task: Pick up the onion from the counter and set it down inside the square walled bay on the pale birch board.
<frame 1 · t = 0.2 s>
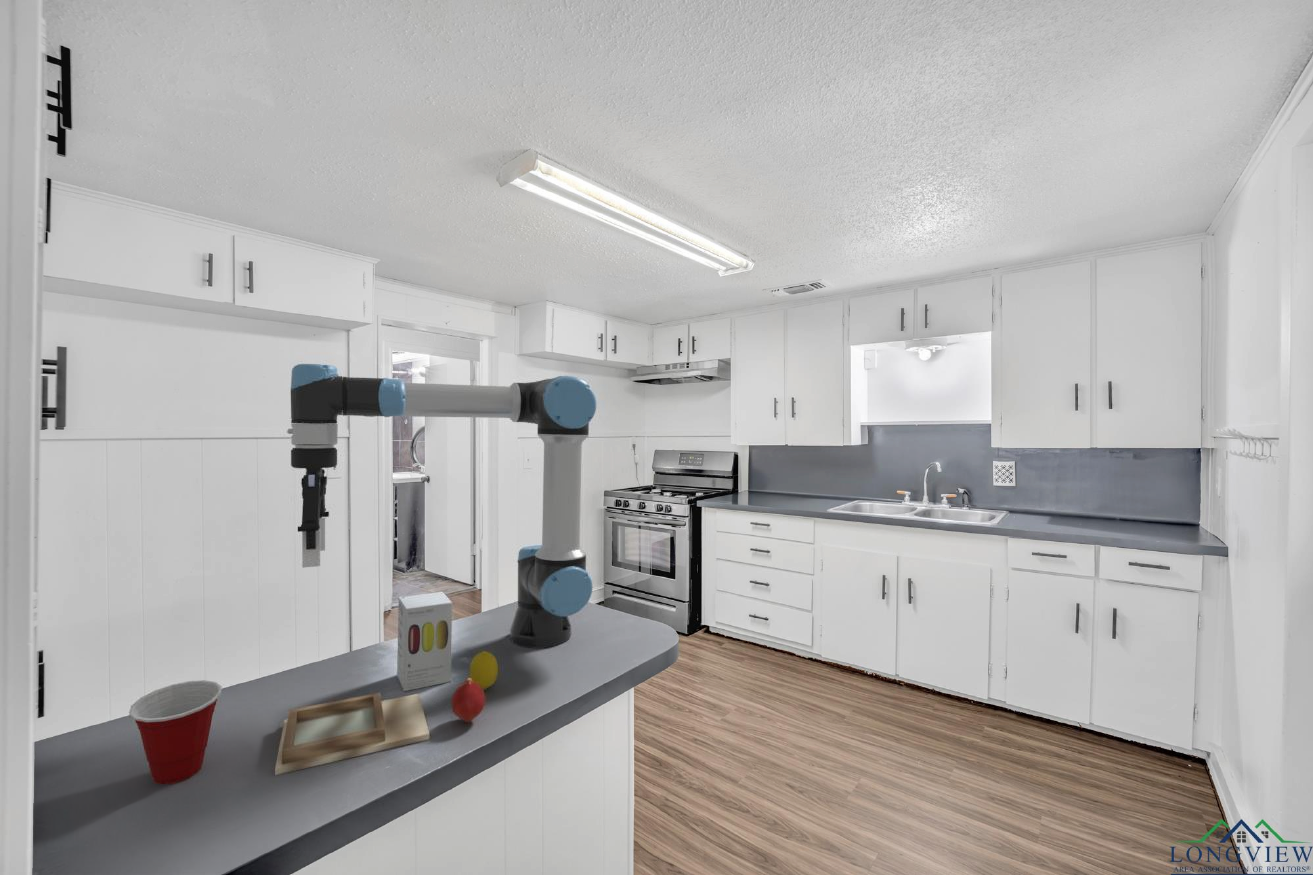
hand: (314, 558, 109), 28 cm above the countertop, tool pointing down, fingers open, 13 cm apart
plastic cup: (177, 775, 87), on the countertop
onion: (468, 722, 104), on the countertop
supplement box: (423, 679, 121), on the countertop
lemon: (483, 691, 116), on the countertop
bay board: (355, 732, 100), on the countertop
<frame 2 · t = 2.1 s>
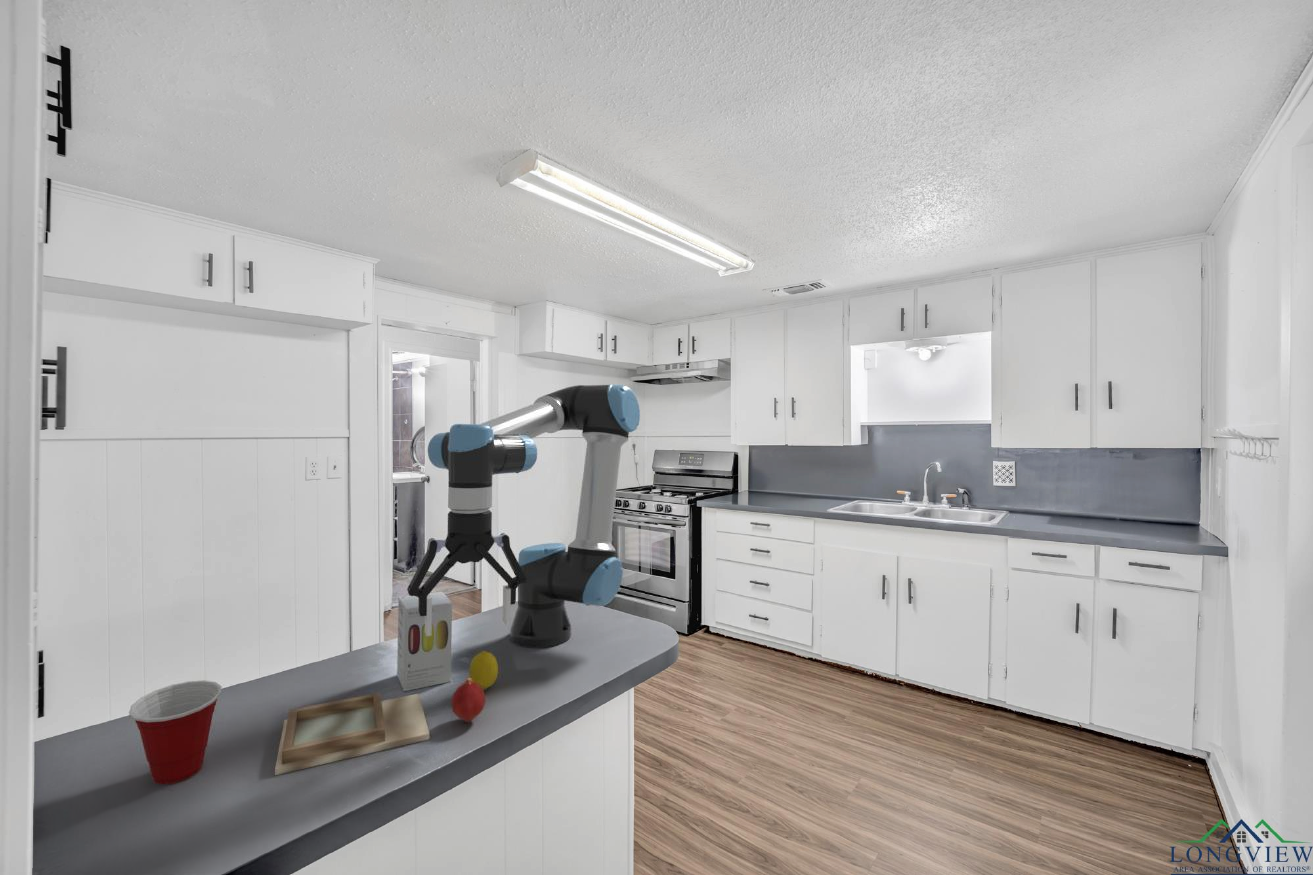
hand: (468, 627, 103), 17 cm above the countertop, tool pointing down, fingers open, 13 cm apart
nothing on the countertop moved.
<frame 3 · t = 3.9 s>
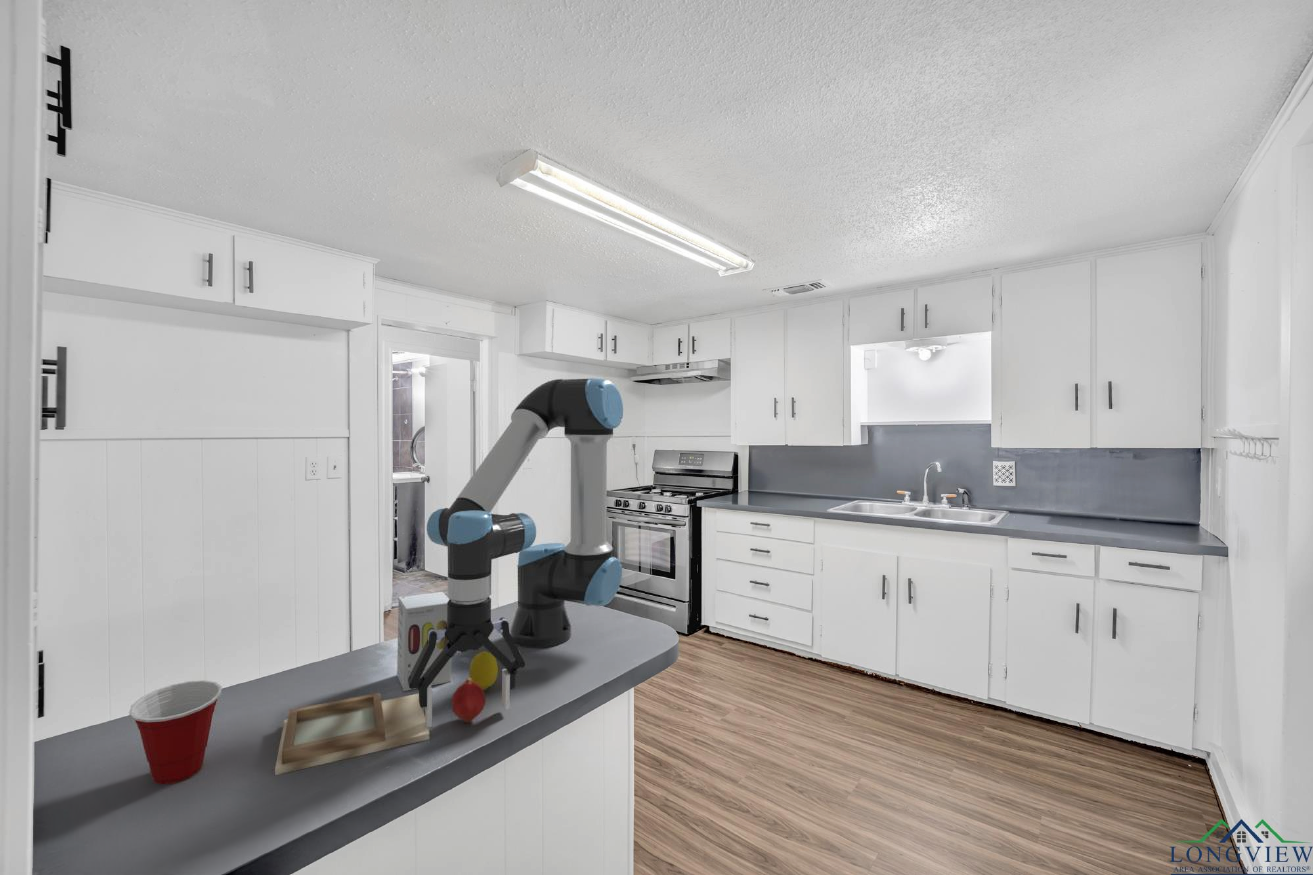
hand: (468, 714, 104), 1 cm above the countertop, tool pointing down, fingers open, 13 cm apart
nothing on the countertop moved.
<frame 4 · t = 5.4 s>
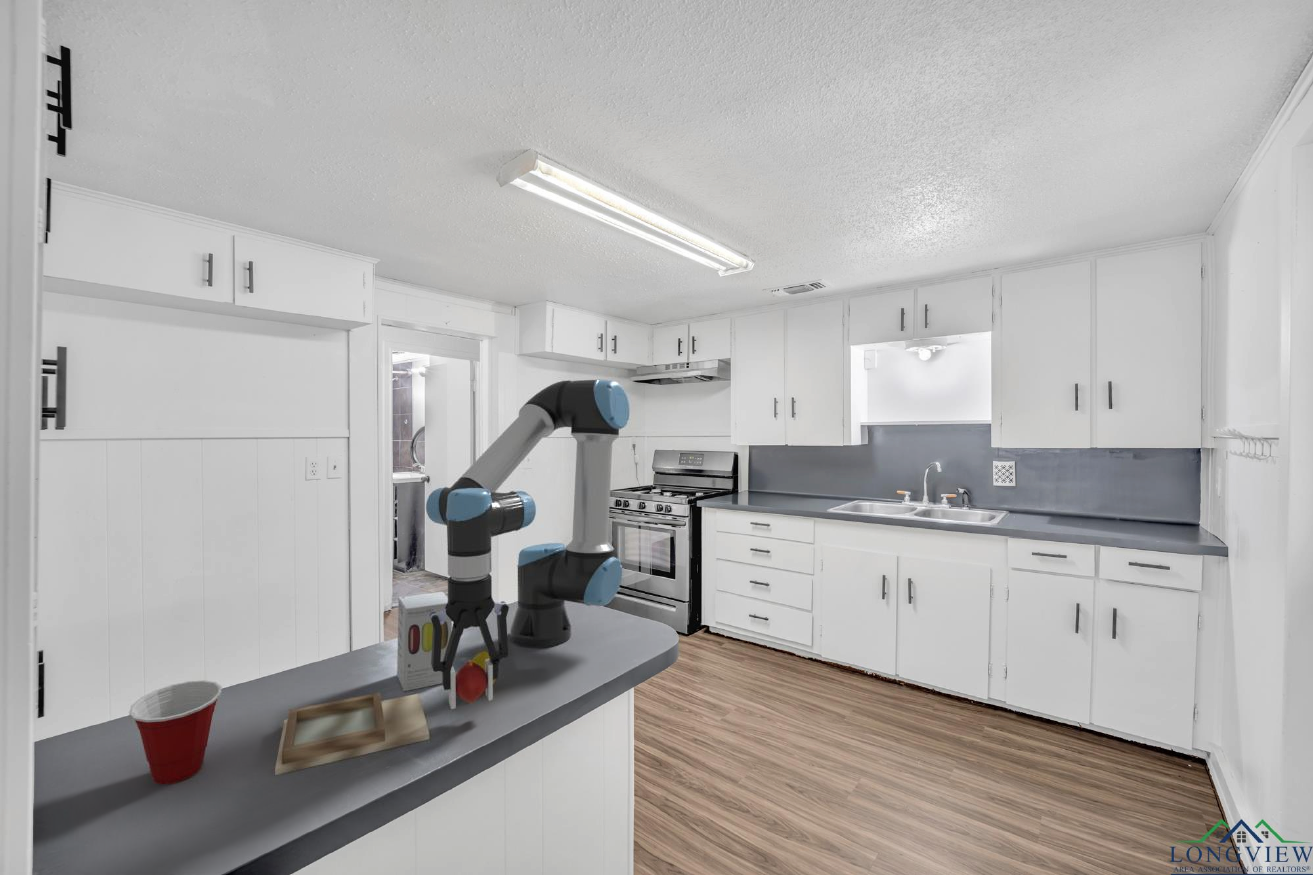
hand: (471, 700, 104), 4 cm above the countertop, tool pointing down, fingers closed on onion, 6 cm apart
onion: (471, 703, 105), point 3 cm above the countertop, touching gripper
everything else where it was.
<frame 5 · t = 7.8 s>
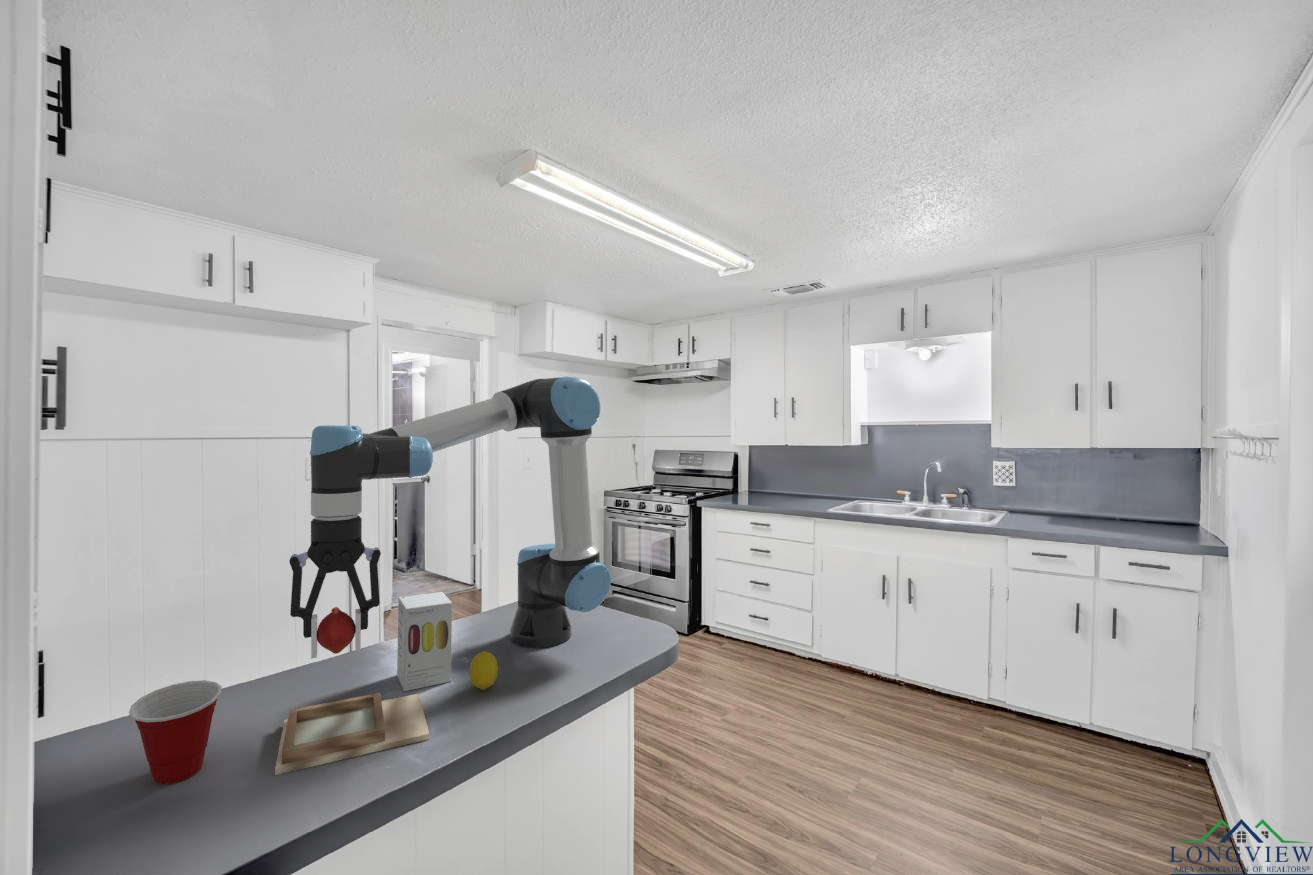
hand: (336, 651, 98), 15 cm above the countertop, tool pointing down, fingers closed on onion, 6 cm apart
onion: (337, 654, 98), point 14 cm above the countertop, touching gripper
everything else where it was.
when the fingers open (3 cm above the countertop, at t = 10.6 s): onion drops 1 cm, resting on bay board.
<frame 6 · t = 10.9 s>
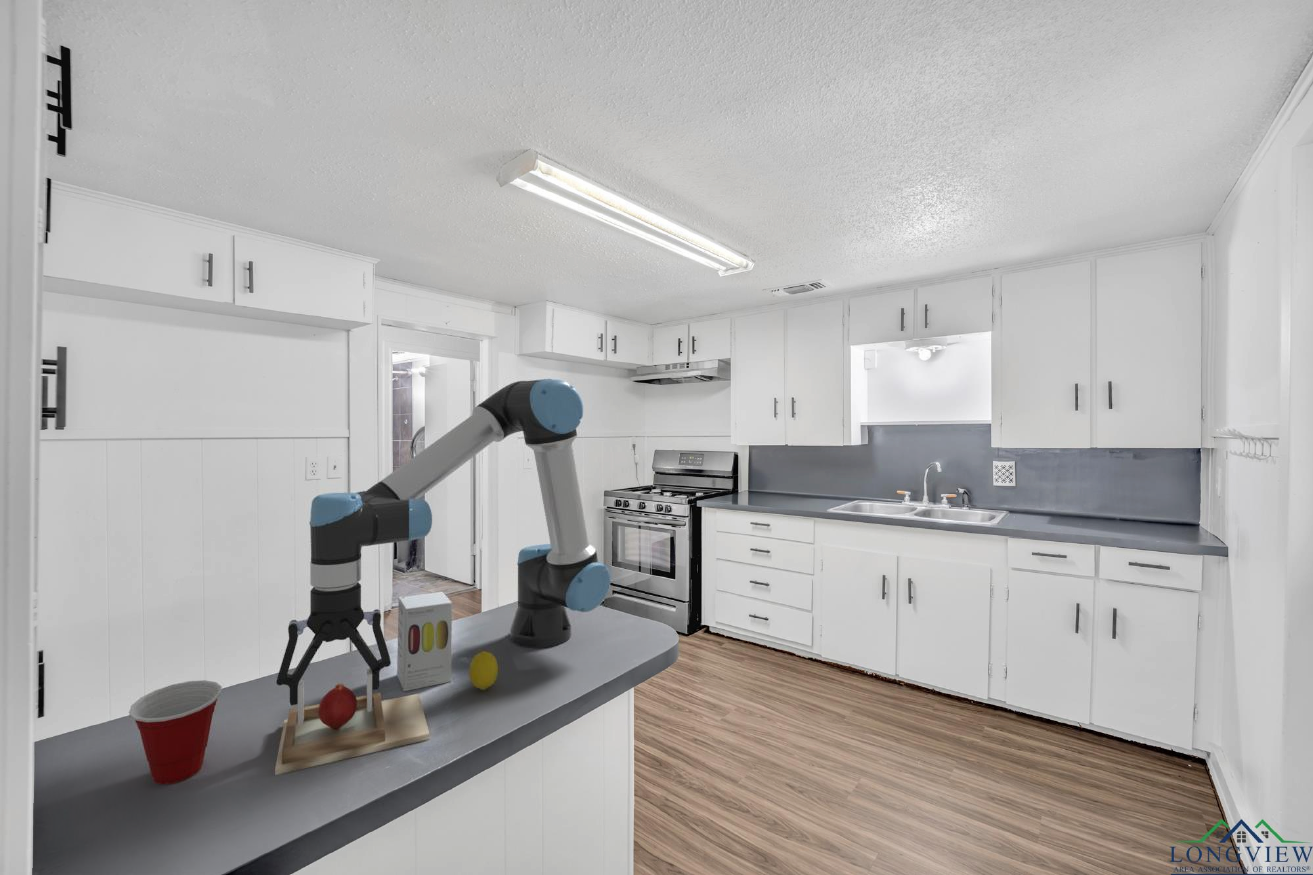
hand: (335, 714, 98), 4 cm above the countertop, tool pointing down, fingers open, 9 cm apart
onion: (336, 729, 98), point 1 cm above the countertop, touching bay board
everything else where it was.
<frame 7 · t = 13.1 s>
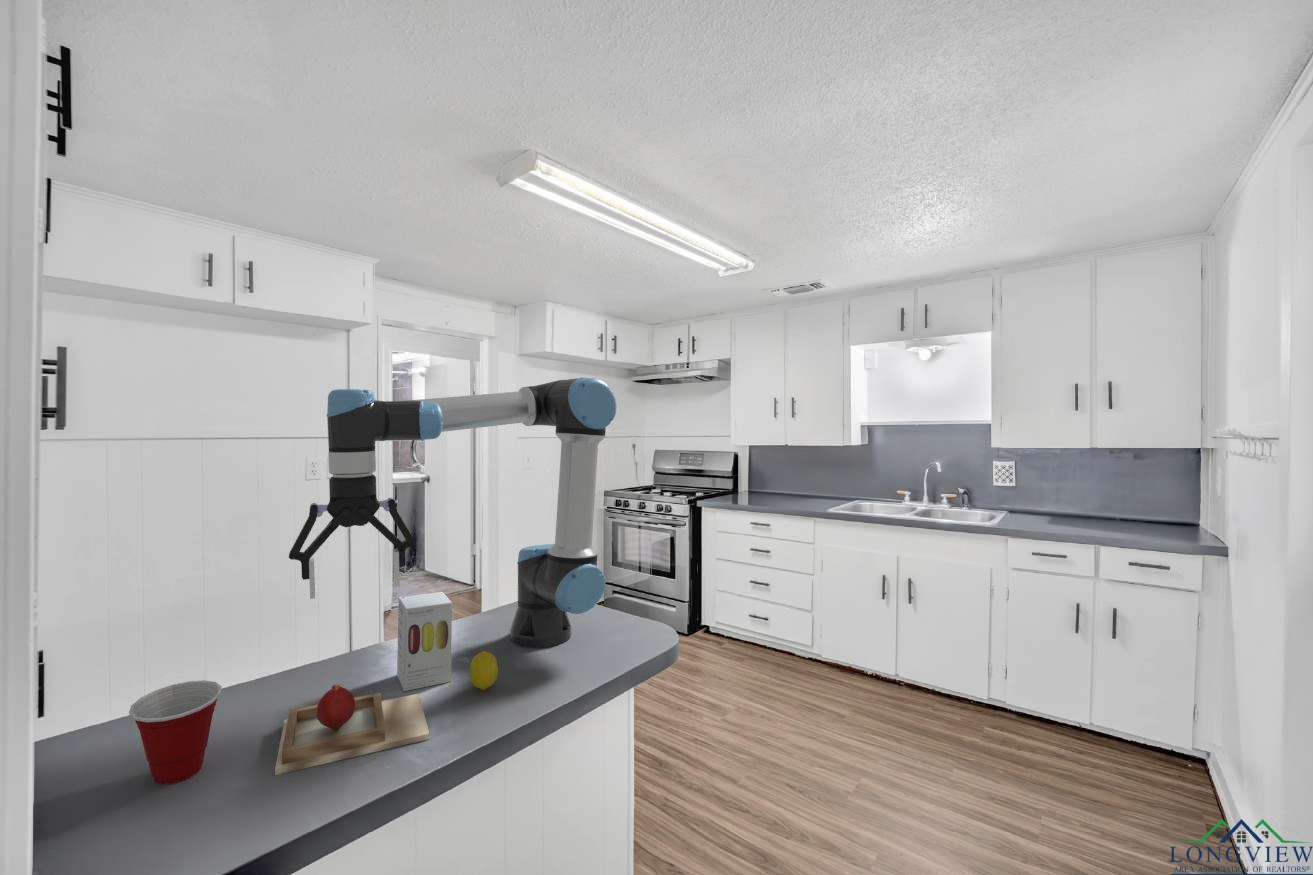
hand: (356, 590, 105), 23 cm above the countertop, tool pointing down, fingers open, 13 cm apart
nothing on the countertop moved.
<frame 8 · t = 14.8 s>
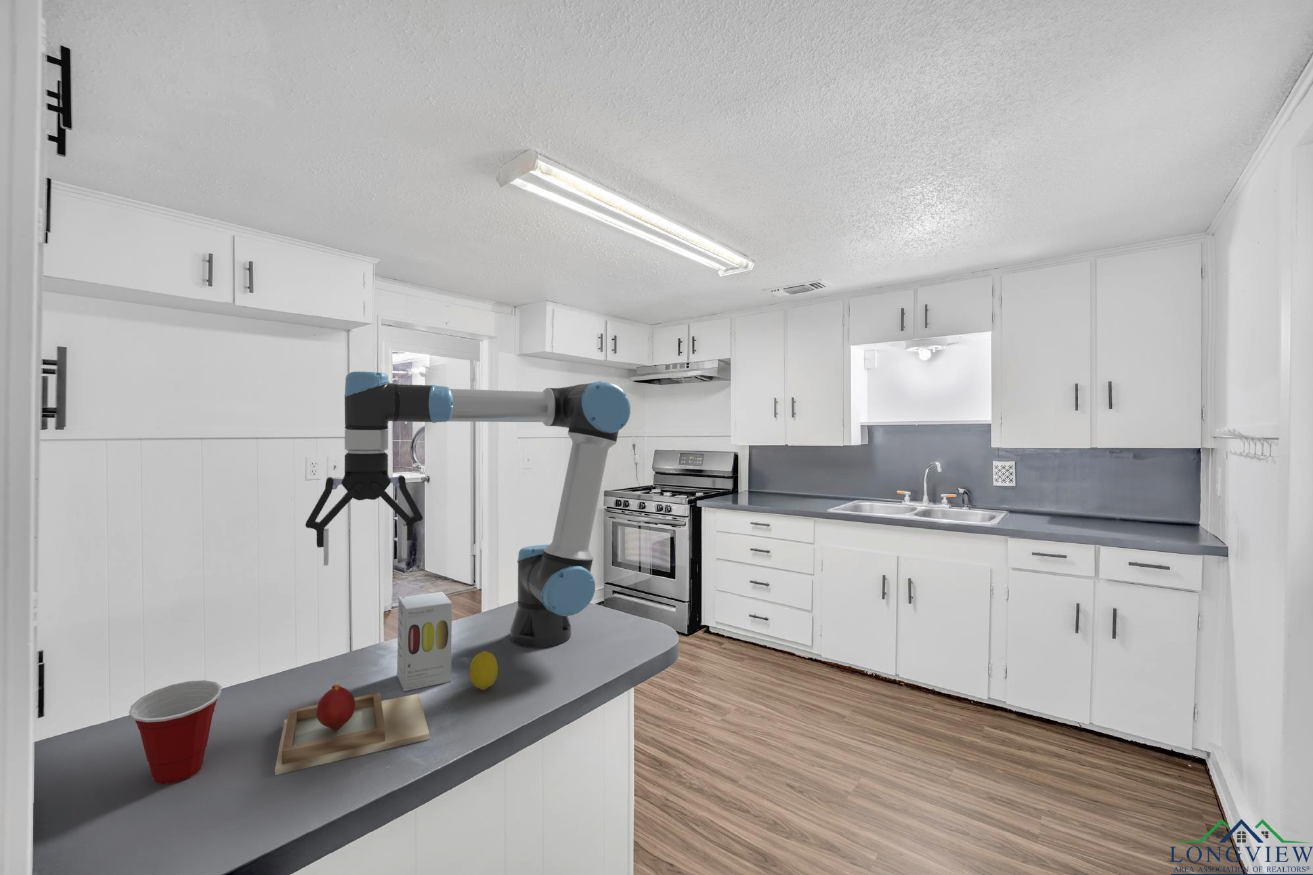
hand: (366, 560, 112), 27 cm above the countertop, tool pointing down, fingers open, 13 cm apart
nothing on the countertop moved.
at the end: onion inside the target area on the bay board (0.1 cm from its centre), point 1.0 cm above the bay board's base; the gripper is holding nothing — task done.
